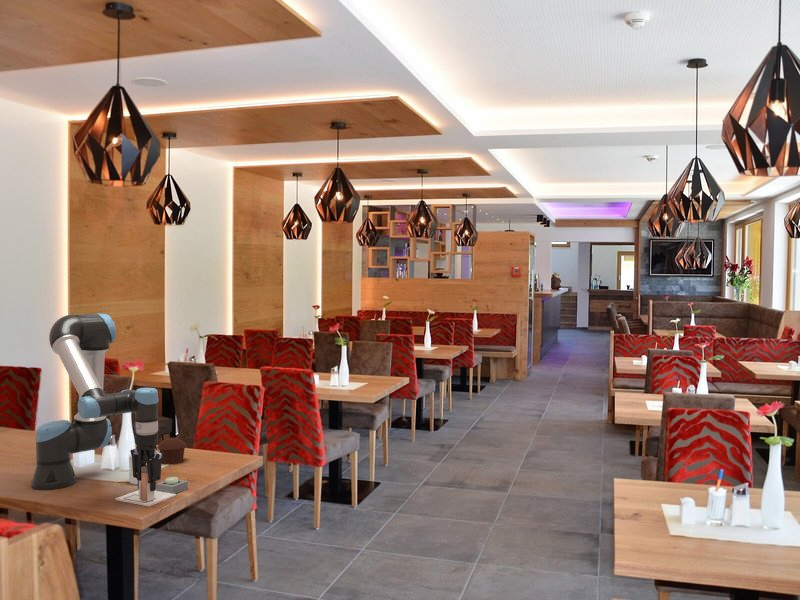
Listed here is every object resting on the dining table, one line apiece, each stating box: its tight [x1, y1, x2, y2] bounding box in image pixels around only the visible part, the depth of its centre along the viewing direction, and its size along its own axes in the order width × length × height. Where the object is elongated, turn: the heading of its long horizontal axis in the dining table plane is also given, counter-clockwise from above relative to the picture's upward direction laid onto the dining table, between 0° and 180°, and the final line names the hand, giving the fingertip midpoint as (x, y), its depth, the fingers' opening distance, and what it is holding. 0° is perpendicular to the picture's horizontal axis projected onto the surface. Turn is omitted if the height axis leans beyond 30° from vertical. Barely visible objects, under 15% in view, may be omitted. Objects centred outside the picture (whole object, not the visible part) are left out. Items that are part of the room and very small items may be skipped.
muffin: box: [156, 437, 187, 465], centre depth 300 cm, size 12×11×10 cm
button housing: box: [155, 479, 189, 495], centre depth 260 cm, size 8×8×3 cm
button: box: [164, 476, 179, 485], centre depth 260 cm, size 4×4×3 cm
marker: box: [141, 465, 149, 501], centre depth 247 cm, size 3×3×12 cm
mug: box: [128, 453, 147, 486], centre depth 271 cm, size 9×12×11 cm
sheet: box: [115, 489, 177, 507], centre depth 252 cm, size 16×13×1 cm
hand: (146, 498), depth 248 cm, fingers open, 3 cm apart
